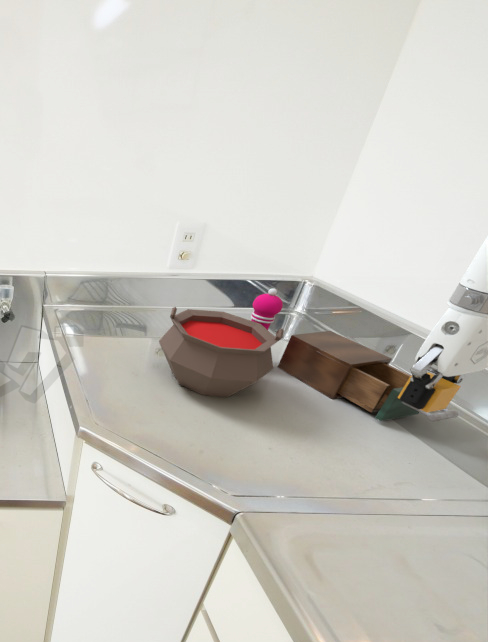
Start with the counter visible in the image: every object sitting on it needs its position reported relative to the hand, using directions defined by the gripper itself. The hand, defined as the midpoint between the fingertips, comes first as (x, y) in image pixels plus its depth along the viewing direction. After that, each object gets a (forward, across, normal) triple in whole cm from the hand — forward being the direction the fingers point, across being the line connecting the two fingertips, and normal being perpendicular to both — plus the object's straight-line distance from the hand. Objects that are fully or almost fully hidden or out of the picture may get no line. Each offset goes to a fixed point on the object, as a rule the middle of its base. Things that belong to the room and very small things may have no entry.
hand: (422, 401), depth 71 cm
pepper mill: (+13, +3, +36) cm, 38 cm away
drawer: (+12, +16, +12) cm, 23 cm away
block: (0, 0, 0) cm, 0 cm away
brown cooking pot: (+13, -14, +31) cm, 36 cm away
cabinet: (+13, +16, +25) cm, 32 cm away
